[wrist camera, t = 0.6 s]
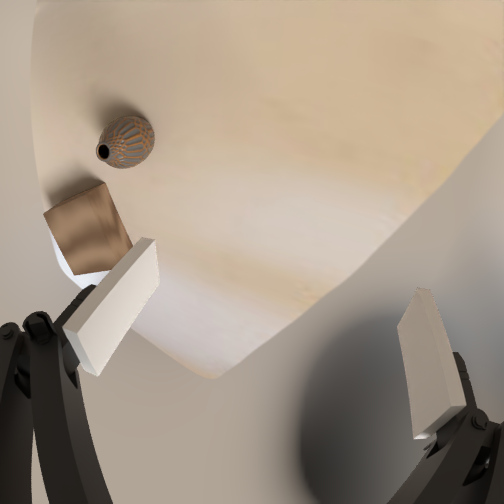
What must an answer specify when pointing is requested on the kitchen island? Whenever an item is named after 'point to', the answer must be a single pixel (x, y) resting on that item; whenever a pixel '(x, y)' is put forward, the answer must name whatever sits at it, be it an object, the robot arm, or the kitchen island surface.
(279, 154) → the kitchen island surface
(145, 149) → the vase
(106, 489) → the robot arm
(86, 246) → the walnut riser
